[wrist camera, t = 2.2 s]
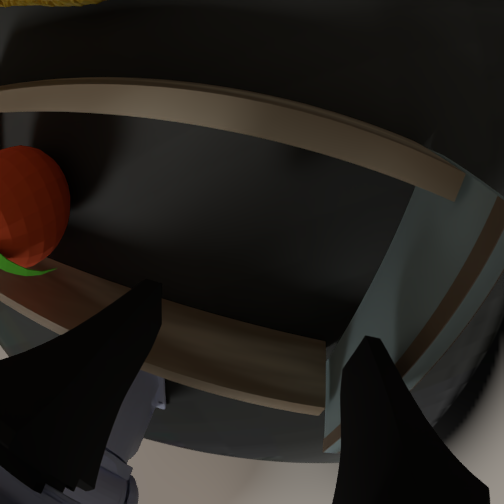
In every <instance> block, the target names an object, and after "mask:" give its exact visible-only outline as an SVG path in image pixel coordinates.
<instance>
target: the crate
mask: <svg viewBox="0 0 504 504" xmlns="http://www.w3.org/2000/svg"><path fill="white" fill-rule="evenodd" d="M28 111H53V112H83V113H100V114H113V115H124V116H134V117H143V118H152V119H159V120H167V121H174V122H180V123H187V124H193V125H199V126H205V127H210V128H216V129H221V130H226V131H231V132H236V133H241V134H246V135H250V136H255V137H259V138H263V139H268V140H272V141H276V142H280V143H284V144H288V145H292V146H296V147H299V148H303V149H307V150H310V151H314V152H317V153H321V154H324V155H328V156H331V157H334V158H338V159H341V160H344V161H347V162H350V163H353V164H357V165H360V166H363V167H366V168H369V169H371V170H374V171H377V172H380V173H383V174H386V175H388V176H391V177H394V178H397V179H399V180H402V181H405V182H407V183H410V184H412V185H415V186H417V187H420V188H422V189H425V190H427V191H430V192H432V193H434V194H437V195H439V196H442V197H444V198H446V199H448V200H451V201H453V202H455V199H456V197H457V195H458V192H459V190H460V187H461V185H462V182H463V180H464V177H465V175H466V174H465V173H464V172H463V171H461V170H460V169H458V168H457V167H455V166H454V165H452V164H451V163H449V162H448V161H446V160H445V159H443V158H441V157H440V156H438V155H437V154H435V153H434V152H432V151H430V150H429V149H427V148H425V147H424V146H422V145H420V144H419V143H417V142H415V141H413V140H411V139H408V138H406V137H403V136H401V135H398V134H396V133H393V132H391V131H388V130H385V129H383V128H380V127H377V126H375V125H372V124H369V123H366V122H363V121H361V120H358V119H355V118H352V117H349V116H345V115H342V114H339V113H336V112H333V111H329V110H326V109H322V108H319V107H315V106H312V105H308V104H304V103H300V102H296V101H292V100H288V99H284V98H280V97H275V96H271V95H266V94H262V93H257V92H252V91H246V90H241V89H235V88H229V87H223V86H216V85H209V84H202V83H194V82H185V81H175V80H164V79H150V78H128V77H84V78H63V79H50V80H39V81H30V82H22V83H15V84H9V85H2V86H0V112H28ZM54 268H57V269H55V270H52V271H50V272H47V273H45V274H42V275H35V276H22V275H16V274H13V273H9V272H6V271H4V270H2V269H0V301H1V302H3V303H5V304H6V305H8V306H10V307H11V308H13V309H14V310H16V311H18V312H20V313H21V314H23V315H25V316H26V317H28V318H30V319H32V320H33V321H35V322H37V323H39V324H41V325H43V326H44V327H46V328H48V329H50V330H52V331H54V332H56V333H58V334H60V335H62V334H64V333H66V332H67V331H69V330H71V329H73V328H74V327H76V326H78V325H79V324H81V323H83V322H84V321H86V320H87V319H89V318H90V317H92V316H94V315H95V314H97V313H98V312H100V311H101V310H103V309H104V308H105V307H107V306H108V305H110V304H111V303H113V302H114V301H116V300H117V299H118V298H120V297H121V296H122V295H124V294H125V293H127V292H128V291H129V290H131V289H132V288H129V287H126V286H123V285H120V284H117V283H114V282H111V281H108V280H106V279H103V278H100V277H97V276H94V275H92V274H89V273H86V272H84V271H81V270H78V269H76V268H73V267H70V266H68V265H65V264H63V263H60V262H57V261H55V260H52V259H50V258H47V257H46V258H45V259H43V260H42V261H40V262H39V263H37V264H36V265H34V266H31V267H27V268H26V269H31V270H38V271H44V270H49V269H54ZM140 370H142V371H145V372H148V373H150V374H153V375H156V376H159V377H162V378H165V379H168V380H171V381H174V382H177V383H180V384H183V385H186V386H189V387H193V388H196V389H199V390H203V391H206V392H210V393H213V394H217V395H220V396H224V397H228V398H232V399H236V400H240V401H244V402H248V403H253V404H257V405H262V406H266V407H271V408H276V409H281V410H287V411H292V412H298V413H304V414H310V415H316V416H319V415H320V414H321V412H322V411H323V410H324V409H325V401H326V341H322V340H317V339H312V338H308V337H303V336H299V335H295V334H290V333H286V332H282V331H278V330H274V329H269V328H265V327H261V326H257V325H254V324H250V323H246V322H242V321H238V320H235V319H231V318H227V317H223V316H220V315H216V314H213V313H209V312H206V311H202V310H199V309H195V308H192V307H189V306H185V305H182V304H179V303H175V302H172V301H169V300H166V299H162V325H161V328H160V330H159V333H158V335H157V337H156V340H155V342H154V345H153V347H152V349H151V351H150V353H149V354H148V356H147V358H146V360H145V362H144V363H143V365H142V367H141V369H140Z"/></svg>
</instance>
